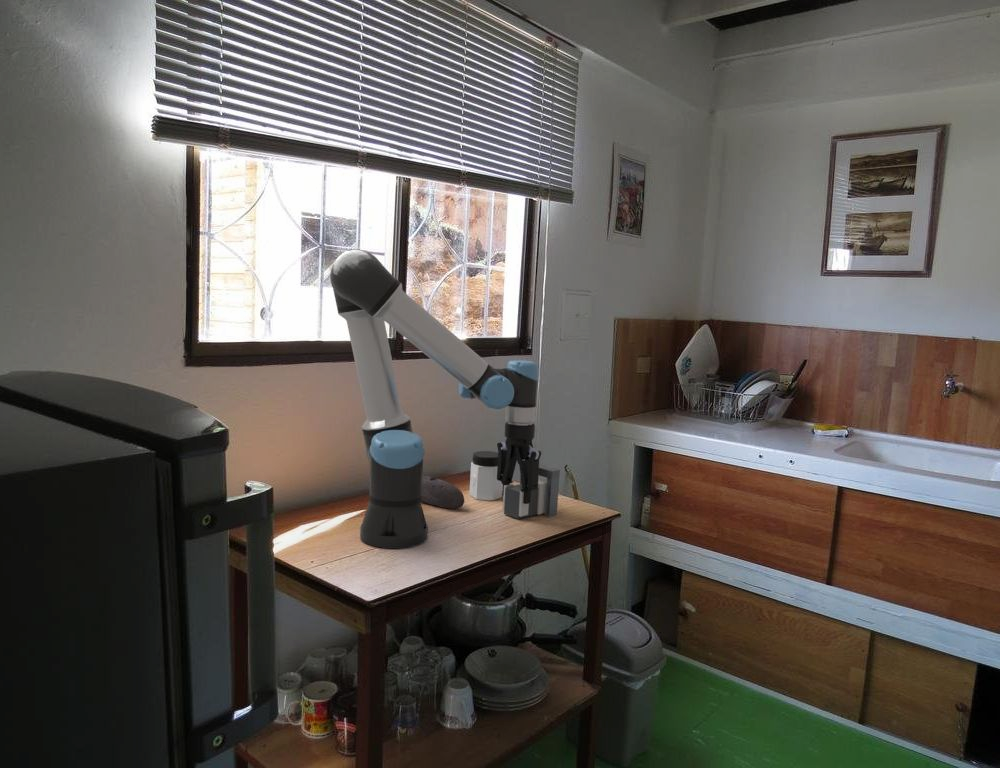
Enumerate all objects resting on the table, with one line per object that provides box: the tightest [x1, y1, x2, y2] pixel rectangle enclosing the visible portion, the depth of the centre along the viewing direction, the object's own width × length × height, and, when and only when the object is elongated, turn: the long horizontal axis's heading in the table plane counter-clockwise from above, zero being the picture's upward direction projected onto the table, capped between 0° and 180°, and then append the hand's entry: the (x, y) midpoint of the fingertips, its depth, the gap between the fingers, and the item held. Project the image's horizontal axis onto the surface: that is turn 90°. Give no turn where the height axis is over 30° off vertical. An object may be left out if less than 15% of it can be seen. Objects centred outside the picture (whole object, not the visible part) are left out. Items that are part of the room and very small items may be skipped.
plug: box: [503, 476, 547, 520], centre depth 183 cm, size 14×6×8 cm, turn 133°
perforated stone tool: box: [421, 475, 465, 510], centre depth 185 cm, size 15×5×7 cm, turn 55°
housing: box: [519, 463, 561, 518], centre depth 185 cm, size 3×11×12 cm, turn 44°
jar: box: [469, 450, 503, 501], centre depth 196 cm, size 9×8×12 cm
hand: (515, 512), depth 180 cm, fingers closed on plug, 5 cm apart
